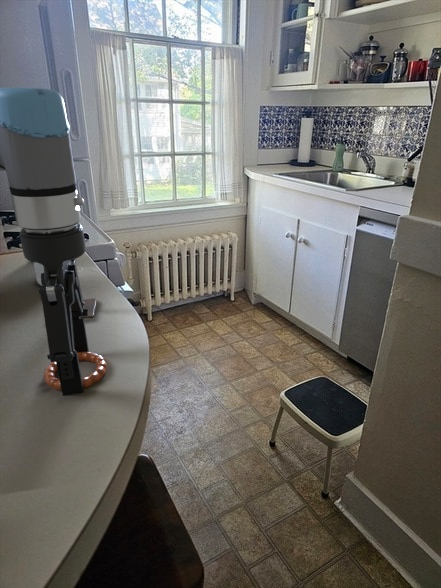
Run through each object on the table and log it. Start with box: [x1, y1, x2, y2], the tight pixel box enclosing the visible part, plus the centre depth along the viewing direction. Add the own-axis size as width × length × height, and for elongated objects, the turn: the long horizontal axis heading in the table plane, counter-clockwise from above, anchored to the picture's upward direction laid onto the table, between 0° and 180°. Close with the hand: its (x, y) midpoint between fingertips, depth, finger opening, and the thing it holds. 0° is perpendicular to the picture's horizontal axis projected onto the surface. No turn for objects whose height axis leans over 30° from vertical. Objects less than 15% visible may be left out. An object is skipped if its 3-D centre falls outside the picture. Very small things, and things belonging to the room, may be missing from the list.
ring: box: [43, 351, 108, 392], centre depth 59 cm, size 9×9×1 cm
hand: (77, 372), depth 59 cm, fingers closed on ring, 9 cm apart
